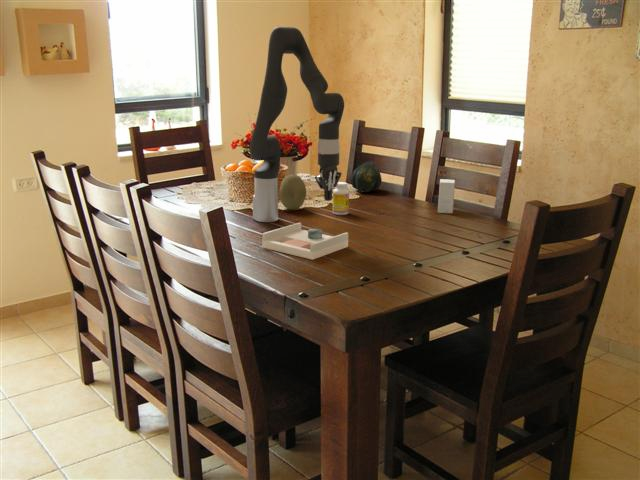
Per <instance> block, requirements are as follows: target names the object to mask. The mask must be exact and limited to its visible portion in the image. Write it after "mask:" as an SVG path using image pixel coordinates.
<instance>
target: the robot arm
mask: <svg viewBox="0 0 640 480" xmlns="http://www.w3.org/2000/svg"><path fill="white" fill-rule="evenodd" d="M268 41H269V42H268V50H267V51H268V52H267V63H266V69H265V75H264V80H263V81H264V82H263V86H262V91H261V95H260V102H259V108H258V110H257V111H258V113H257V117H256V120H255V124H254V128H253V132H252V135H251V139H250V143H249V154H250V157H251V159H253V160H254V161H256V162H257V161H262V164H260V166H258V167H257V168H255V170H254V173H253V174H254V194H253V196H252V219H253V220H255V221H256V222H259V223H272V222H276V221H278V220H279V171H280V170H281V169H280V167H281V151H282V150H281V143H280V140H279V138H278V137H277V136H276V135H270V133H269V132H270V130H271V128H272V126H273V123H275V121H277V119H278V118H279V116H280V114H281V113H283V110H284V108H285V104H286V99H287V95H288V86H287V82H286V80H285V75H284V74H283V70H282V63H283V57H284V54H286V55H287V54H289V55H290V54H291V55H292V54H293V55H294V56H295V57H296V58H297V60H298V61H299V75H300V79H301V81H302V84H303V85H304V86H305V87H306V89H307V91H308V92H309V94H310V98H311V101H312V105H313V108H314V110H315V111H316V112H317V113H318V114H320V115H327V117H326V119H325V120H323V121H320V123H319V124H318V142H317V165H318V166H319V170H318V171H319V173H318V175H315V176H314V179H315V182H316V183H317V185H318V187H319V188H320V189H321V190H323V191H324V192H323V193H324V195H323V196H324V197H323V198H324V199H323V200H324V201H327V202H330V201H333V190H334V189H335V188H336V186H337V184H338V182H340V179H341V176H342V172H341V171H340V172H339V171H338V166H339V165H340V125H341V121H342V117H343V114H344V111H345V110H344V109H345V100H344V98H343V96H342V95H341V93H339V92H330V93H329V92H327V90H328V89H329V83H328V82H327V80H326V78H325V76H324V75H323V74H322V72H321V70H320V69H319V67H318V66H317V64H316V62H315V60H314V57H313V56H312V53H311V51H310V49H309V46H308V44H307V41H306V39H305V38H304V35H303V34H302V32H301V31H300V29H298V28H297V27H293V26H275V27H273V29H272V31H271V32H270V34H269V40H268Z"/></svg>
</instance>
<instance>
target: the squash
mask: <svg viewBox="0 0 640 480" xmlns="http://www.w3.org/2000/svg"><path fill="white" fill-rule="evenodd" d="M382 181H383V180H382V175H381V173H380V170H379V169H378V167H377V166H376V164H375V163H374V162H373V161H372V160H369V161H366V162H364V163H362V164H360V165H359V166H358V167H356V168H355V169H354V170H353V171H352V173H351V177H350V182H351V187H353V188H354V189H356V190H357V191H358V192H360V193H364V192H365V193H369V192H374V191H377V190H378V189H379V188H380V187H381V184H382Z"/></svg>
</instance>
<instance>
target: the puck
mask: <svg viewBox="0 0 640 480" xmlns="http://www.w3.org/2000/svg"><path fill="white" fill-rule="evenodd" d="M307 231H308V238H309V239H321V238H322V234H323V229H321V228H310V229H308V230H307Z"/></svg>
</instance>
